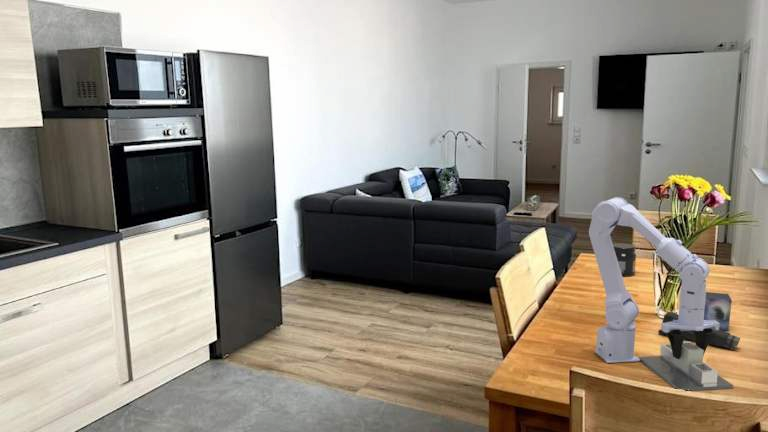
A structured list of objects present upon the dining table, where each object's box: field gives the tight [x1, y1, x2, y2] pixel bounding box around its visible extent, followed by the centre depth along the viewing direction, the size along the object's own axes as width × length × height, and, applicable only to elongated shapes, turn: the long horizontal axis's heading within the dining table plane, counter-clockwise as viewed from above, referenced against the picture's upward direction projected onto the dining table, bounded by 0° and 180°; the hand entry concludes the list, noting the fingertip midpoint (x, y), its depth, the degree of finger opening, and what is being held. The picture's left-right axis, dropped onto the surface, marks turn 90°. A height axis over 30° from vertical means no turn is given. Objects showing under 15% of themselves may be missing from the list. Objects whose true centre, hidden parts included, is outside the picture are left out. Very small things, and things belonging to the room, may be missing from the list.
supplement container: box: [613, 243, 637, 277], centre depth 248 cm, size 10×10×12 cm
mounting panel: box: [637, 343, 734, 391], centre depth 153 cm, size 14×19×5 cm
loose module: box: [673, 340, 705, 373], centre depth 153 cm, size 4×6×6 cm, turn 6°
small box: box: [704, 291, 733, 333], centre depth 186 cm, size 11×6×10 cm, turn 70°
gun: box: [658, 311, 741, 351], centre depth 174 cm, size 4×20×10 cm, turn 51°
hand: (687, 356), depth 153 cm, fingers open, 6 cm apart
